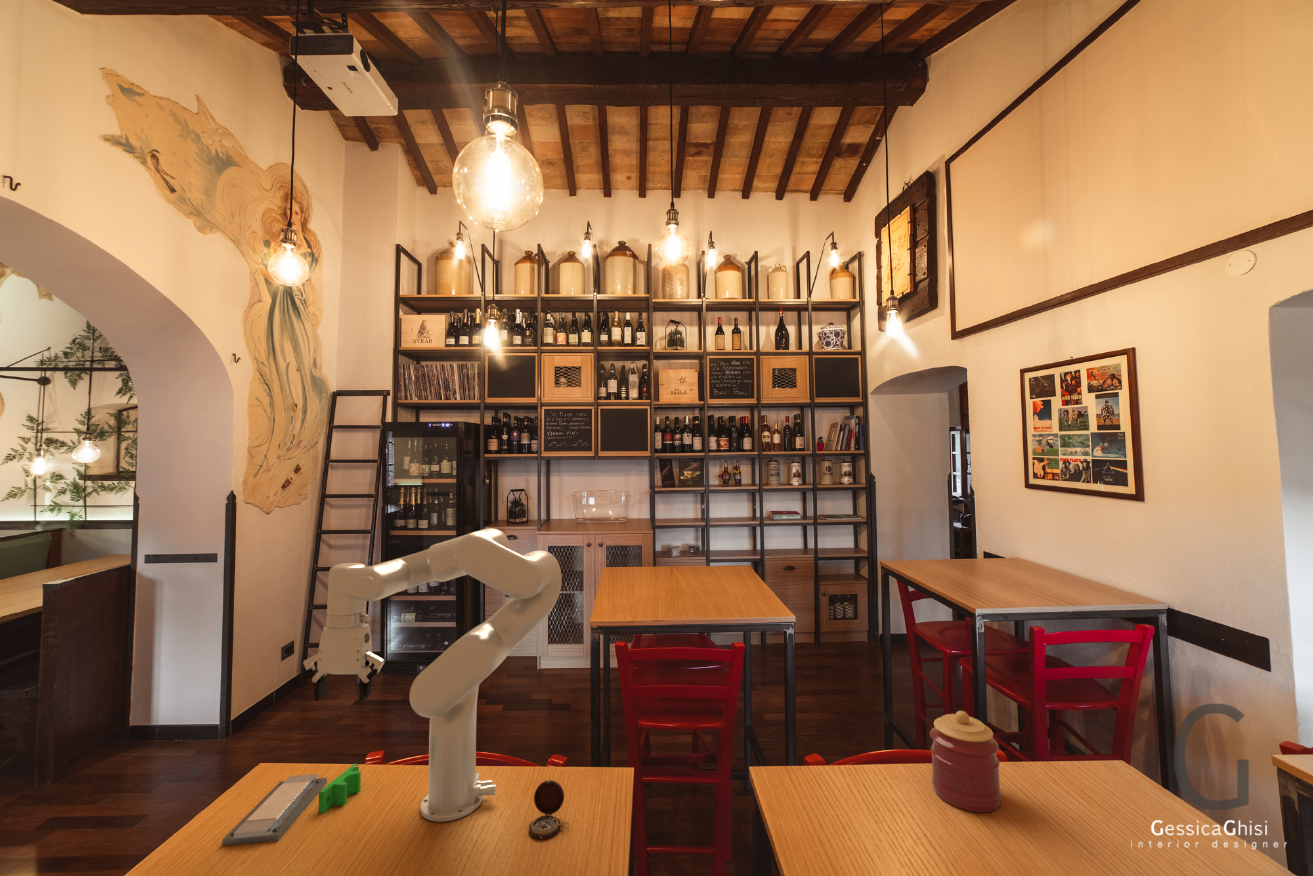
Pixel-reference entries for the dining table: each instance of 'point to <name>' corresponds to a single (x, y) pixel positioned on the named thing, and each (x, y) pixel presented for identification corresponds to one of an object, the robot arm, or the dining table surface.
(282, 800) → the grey framed panel
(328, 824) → the dining table surface
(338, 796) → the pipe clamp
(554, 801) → the compass
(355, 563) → the robot arm
